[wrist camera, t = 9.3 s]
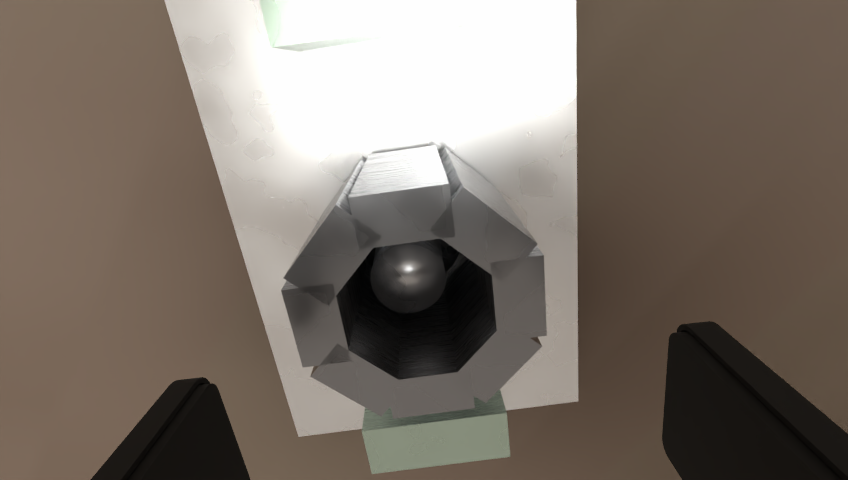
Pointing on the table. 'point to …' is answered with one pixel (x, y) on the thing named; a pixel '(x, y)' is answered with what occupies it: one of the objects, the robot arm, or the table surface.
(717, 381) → the robot arm
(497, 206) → the hub
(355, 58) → the seat
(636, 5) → the table surface
